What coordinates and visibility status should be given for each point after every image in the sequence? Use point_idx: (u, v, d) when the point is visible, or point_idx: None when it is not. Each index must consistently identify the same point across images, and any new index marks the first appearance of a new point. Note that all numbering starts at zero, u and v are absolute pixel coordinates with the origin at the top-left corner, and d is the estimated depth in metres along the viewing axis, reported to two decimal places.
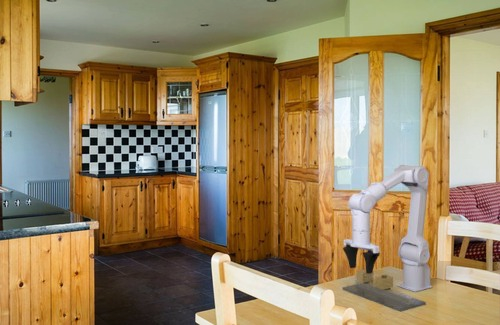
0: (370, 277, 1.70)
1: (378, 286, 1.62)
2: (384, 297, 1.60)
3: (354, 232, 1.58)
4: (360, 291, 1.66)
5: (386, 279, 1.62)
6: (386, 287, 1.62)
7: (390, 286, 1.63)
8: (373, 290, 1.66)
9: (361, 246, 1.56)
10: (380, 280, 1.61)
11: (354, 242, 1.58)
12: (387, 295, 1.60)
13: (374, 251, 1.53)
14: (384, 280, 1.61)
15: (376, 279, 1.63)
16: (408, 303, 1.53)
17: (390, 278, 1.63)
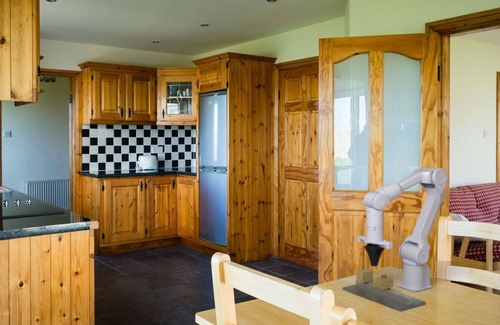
0: (370, 277, 1.70)
1: (378, 286, 1.62)
2: (384, 297, 1.60)
3: (368, 229, 1.65)
4: (360, 291, 1.66)
5: (386, 279, 1.62)
6: (386, 287, 1.62)
7: (390, 286, 1.63)
8: (373, 290, 1.66)
9: (375, 242, 1.63)
10: (380, 280, 1.61)
11: (368, 238, 1.65)
12: (387, 295, 1.60)
13: (387, 247, 1.60)
14: (384, 280, 1.61)
15: (376, 279, 1.63)
16: (408, 303, 1.53)
17: (390, 278, 1.63)
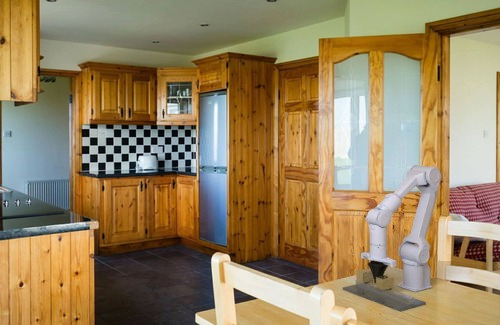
0: (370, 277, 1.70)
1: (379, 286, 1.62)
2: (384, 297, 1.60)
3: (372, 246, 1.64)
4: (360, 291, 1.66)
5: (387, 279, 1.61)
6: (387, 287, 1.61)
7: (391, 286, 1.62)
8: (373, 290, 1.66)
9: (378, 260, 1.62)
10: (381, 280, 1.61)
11: (372, 256, 1.64)
12: (387, 295, 1.60)
13: (391, 265, 1.59)
14: (385, 280, 1.61)
15: (377, 279, 1.62)
16: (408, 303, 1.53)
17: (391, 278, 1.62)
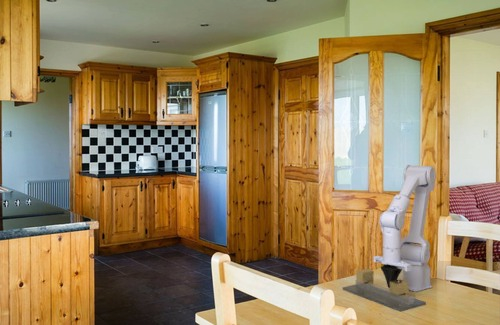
0: (370, 277, 1.70)
1: (393, 291, 1.57)
2: (384, 297, 1.60)
3: (385, 249, 1.58)
4: (360, 291, 1.66)
5: (401, 284, 1.56)
6: (401, 292, 1.56)
7: (405, 291, 1.57)
8: (373, 290, 1.66)
9: (392, 264, 1.57)
10: (395, 285, 1.56)
11: (385, 259, 1.59)
12: (387, 295, 1.60)
13: (406, 269, 1.54)
14: (399, 285, 1.56)
15: (391, 284, 1.57)
16: (408, 303, 1.53)
17: (405, 283, 1.57)
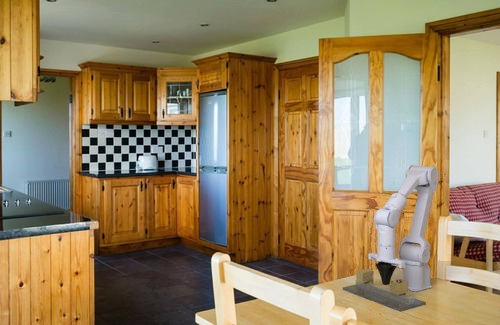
0: (370, 277, 1.70)
1: (393, 291, 1.57)
2: (384, 297, 1.60)
3: (380, 247, 1.60)
4: (360, 291, 1.66)
5: (401, 284, 1.56)
6: (401, 292, 1.56)
7: (405, 291, 1.57)
8: (373, 290, 1.66)
9: (387, 261, 1.59)
10: (395, 285, 1.56)
11: (380, 257, 1.61)
12: (387, 295, 1.60)
13: (400, 266, 1.56)
14: (399, 285, 1.56)
15: (391, 284, 1.57)
16: (408, 303, 1.53)
17: (405, 283, 1.57)
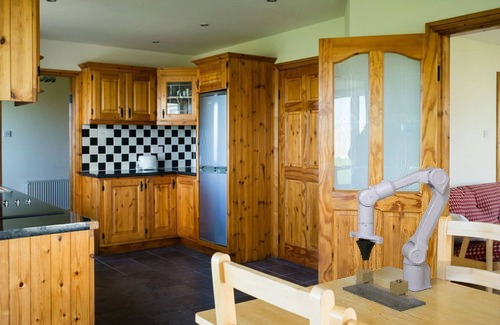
0: (370, 277, 1.70)
1: (393, 291, 1.57)
2: (384, 297, 1.60)
3: (360, 224, 1.71)
4: (360, 291, 1.66)
5: (401, 284, 1.56)
6: (401, 292, 1.56)
7: (405, 291, 1.57)
8: (373, 290, 1.66)
9: (366, 237, 1.69)
10: (395, 285, 1.56)
11: (359, 234, 1.71)
12: (387, 295, 1.60)
13: (378, 242, 1.66)
14: (399, 285, 1.56)
15: (391, 284, 1.57)
16: (408, 303, 1.53)
17: (405, 283, 1.57)
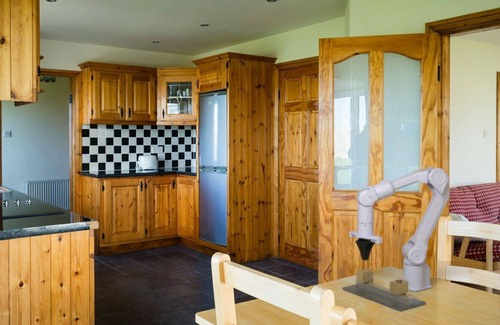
0: (370, 277, 1.70)
1: (393, 291, 1.57)
2: (384, 297, 1.60)
3: (359, 224, 1.72)
4: (360, 291, 1.66)
5: (401, 284, 1.56)
6: (401, 292, 1.56)
7: (405, 291, 1.57)
8: (373, 290, 1.66)
9: (365, 237, 1.70)
10: (395, 285, 1.56)
11: (359, 233, 1.72)
12: (387, 295, 1.60)
13: (377, 242, 1.67)
14: (399, 285, 1.56)
15: (391, 284, 1.57)
16: (408, 303, 1.53)
17: (405, 283, 1.57)
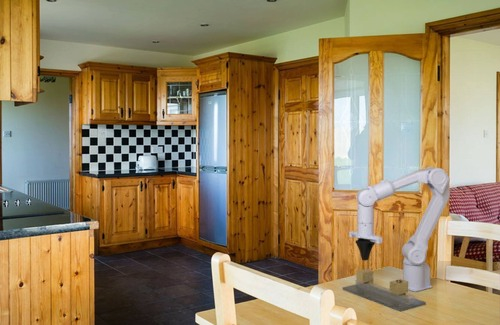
0: (370, 277, 1.70)
1: (393, 291, 1.57)
2: (384, 297, 1.60)
3: (359, 224, 1.72)
4: (360, 291, 1.66)
5: (401, 284, 1.56)
6: (401, 292, 1.56)
7: (405, 291, 1.57)
8: (373, 290, 1.66)
9: (365, 237, 1.70)
10: (395, 285, 1.56)
11: (359, 233, 1.72)
12: (387, 295, 1.60)
13: (377, 242, 1.67)
14: (399, 285, 1.56)
15: (391, 284, 1.57)
16: (408, 303, 1.53)
17: (405, 283, 1.57)
